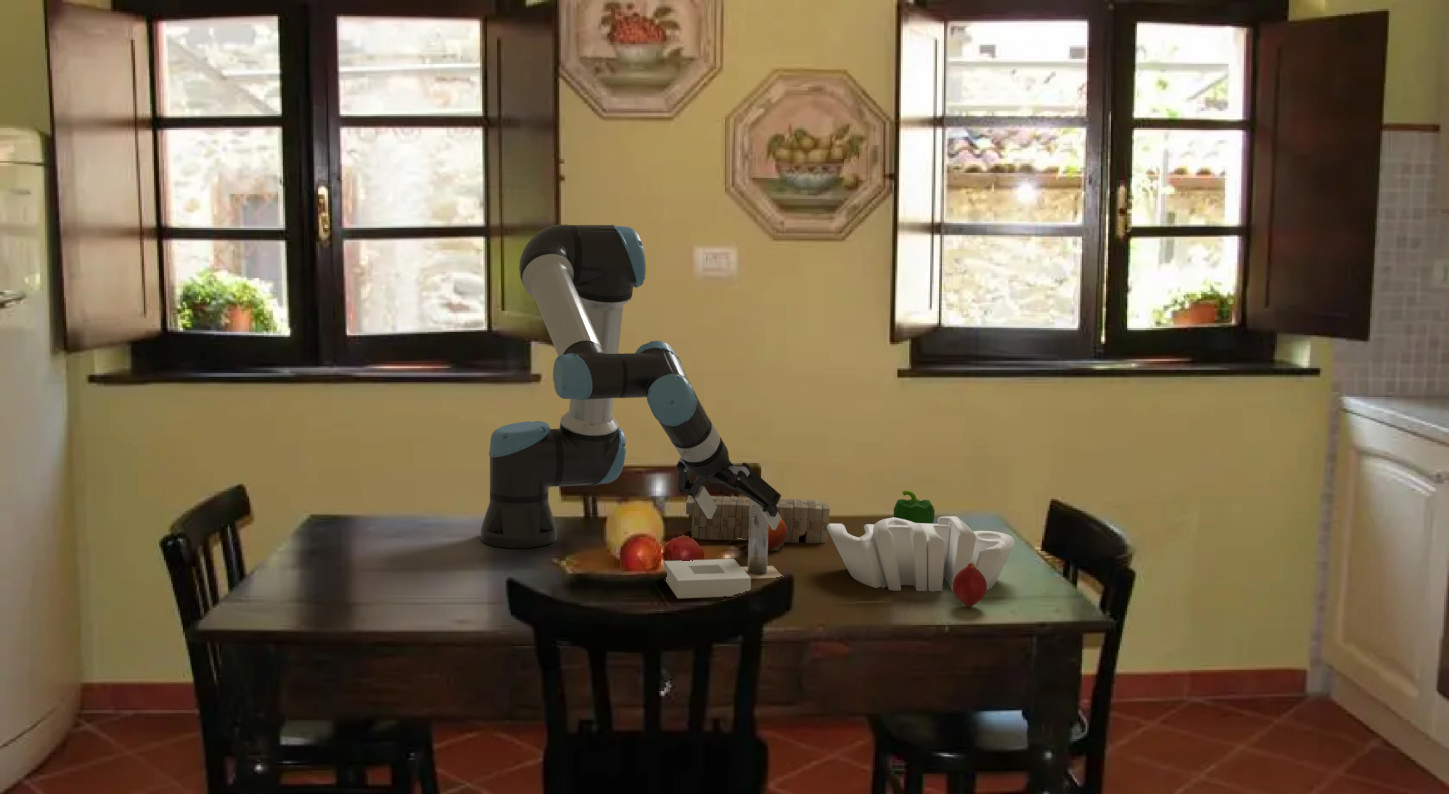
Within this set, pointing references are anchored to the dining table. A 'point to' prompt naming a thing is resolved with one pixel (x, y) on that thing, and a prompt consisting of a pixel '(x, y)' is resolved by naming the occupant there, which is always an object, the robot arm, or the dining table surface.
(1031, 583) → the dining table surface
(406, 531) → the dining table surface
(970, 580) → the onion
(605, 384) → the robot arm
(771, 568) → the coaster
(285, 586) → the dining table surface
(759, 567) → the pin
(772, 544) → the fruit
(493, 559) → the dining table surface
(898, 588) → the white wavy slab sculpture
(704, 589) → the slot block
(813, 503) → the block tower
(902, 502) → the bell pepper
